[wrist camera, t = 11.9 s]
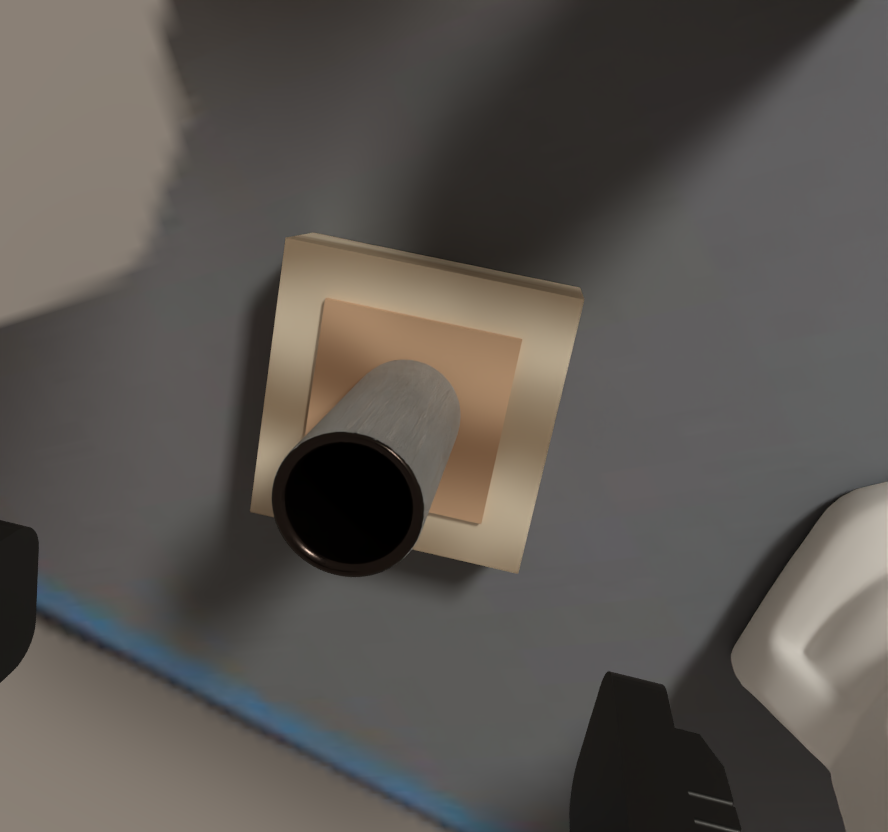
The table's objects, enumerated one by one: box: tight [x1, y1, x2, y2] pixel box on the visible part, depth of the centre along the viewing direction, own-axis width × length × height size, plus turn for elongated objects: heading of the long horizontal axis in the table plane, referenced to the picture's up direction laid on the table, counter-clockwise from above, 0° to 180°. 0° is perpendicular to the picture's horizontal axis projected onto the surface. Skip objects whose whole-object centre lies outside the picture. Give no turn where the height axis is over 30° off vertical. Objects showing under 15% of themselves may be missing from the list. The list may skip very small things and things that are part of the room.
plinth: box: [250, 233, 584, 574], centre depth 35 cm, size 12×12×4 cm
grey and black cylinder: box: [272, 360, 460, 577], centre depth 28 cm, size 4×4×10 cm
